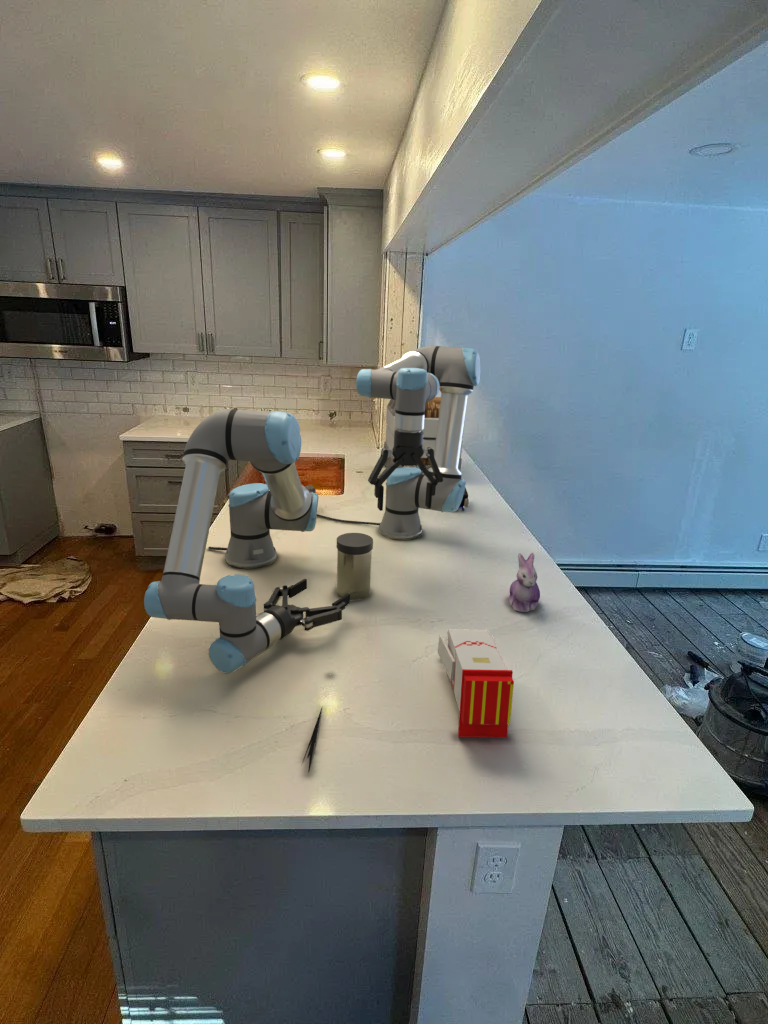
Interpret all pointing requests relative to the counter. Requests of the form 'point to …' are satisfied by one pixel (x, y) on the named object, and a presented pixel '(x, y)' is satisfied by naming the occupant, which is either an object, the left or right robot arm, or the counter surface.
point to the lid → (354, 543)
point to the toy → (478, 682)
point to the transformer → (428, 431)
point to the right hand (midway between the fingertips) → (404, 508)
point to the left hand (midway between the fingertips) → (326, 590)
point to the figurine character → (464, 500)
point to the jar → (353, 575)
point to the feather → (313, 740)
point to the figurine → (525, 586)
